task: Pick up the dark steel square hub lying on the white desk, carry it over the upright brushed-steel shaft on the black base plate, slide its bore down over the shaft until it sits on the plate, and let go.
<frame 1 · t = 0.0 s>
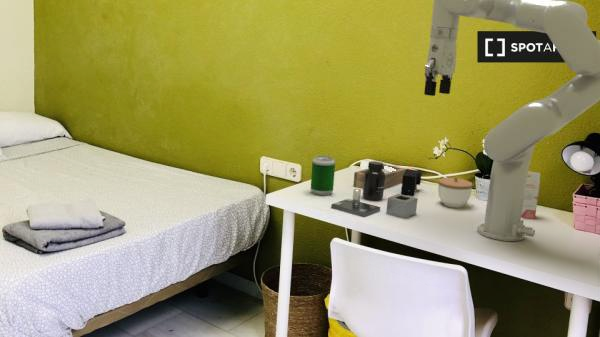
hand: (437, 94, 176), 37 cm above the table, tool pointing down, fingers open, 9 cm apart
supplement bottle: (372, 198, 199), on the table
digital camera: (410, 192, 209), on the table
lidded jar: (452, 205, 197), on the table
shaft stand: (355, 209, 185), on the table
soda can: (321, 193, 201), on the table
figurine: (381, 185, 216), resting in organizer frame
hub: (401, 213, 184), on the table
organizer frame: (379, 183, 217), on the table
ink cartridge box: (520, 215, 190), on the table
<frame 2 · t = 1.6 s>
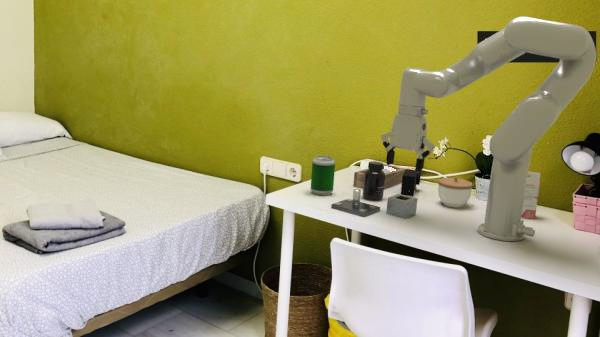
hand: (404, 167, 181), 14 cm above the table, tool pointing down, fingers open, 9 cm apart
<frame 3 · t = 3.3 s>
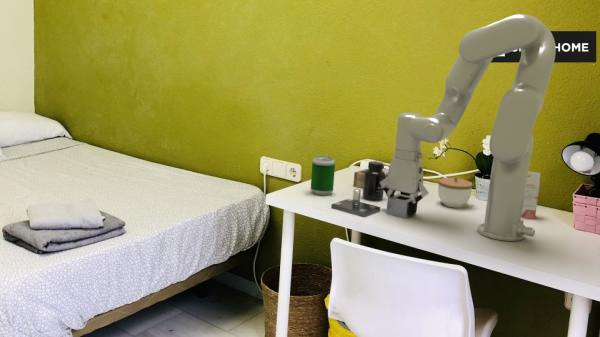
hand: (401, 211, 184), 1 cm above the table, tool pointing down, fingers closed on hub, 6 cm apart
hub: (401, 213, 184), on the table, touching gripper
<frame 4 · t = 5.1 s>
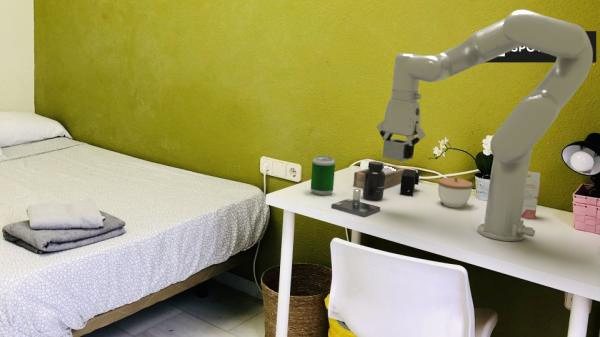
hand: (397, 155, 180), 18 cm above the table, tool pointing down, fingers closed on hub, 6 cm apart
hub: (397, 157, 180), point 17 cm above the table, touching gripper
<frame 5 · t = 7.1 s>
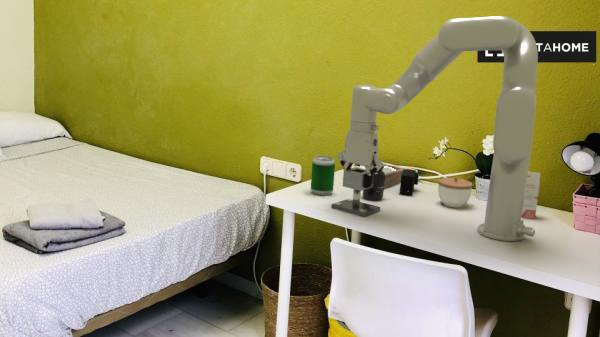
hand: (357, 184, 183), 8 cm above the table, tool pointing down, fingers closed on hub, 6 cm apart
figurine: (383, 184, 219), resting in organizer frame
hub: (357, 186, 184), point 7 cm above the table, touching gripper
everything else where it was.
when the fingers open (3 cm above the table, at t = 8.7 s): hub stays where it is, resting on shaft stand.
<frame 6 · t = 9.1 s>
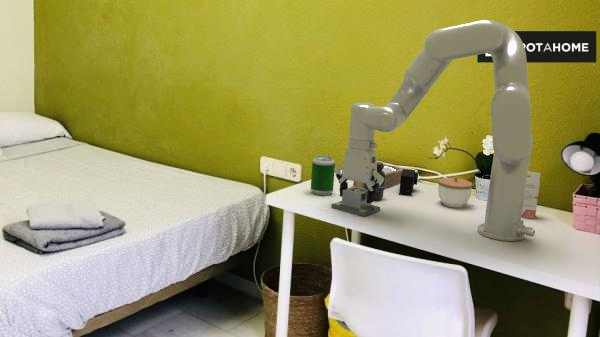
hand: (356, 199, 185), 3 cm above the table, tool pointing down, fingers open, 9 cm apart
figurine: (383, 184, 219), resting in organizer frame
hub: (356, 205, 185), point 1 cm above the table, touching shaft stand
everything else where it was.
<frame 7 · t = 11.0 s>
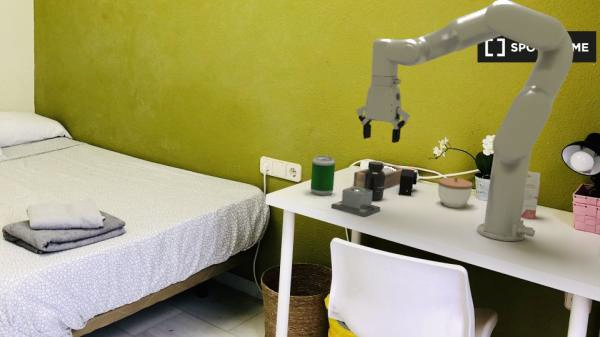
hand: (380, 140, 179), 22 cm above the table, tool pointing down, fingers open, 9 cm apart
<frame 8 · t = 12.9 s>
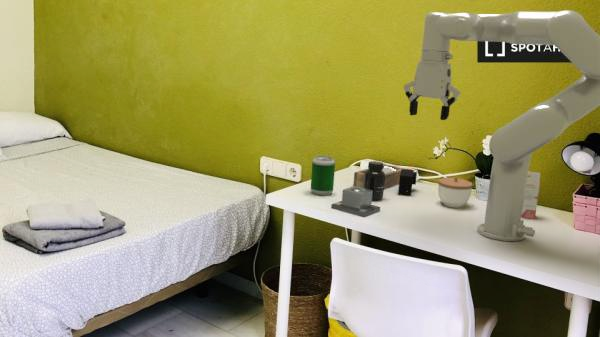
hand: (428, 117, 174), 30 cm above the table, tool pointing down, fingers open, 9 cm apart
at the end: hub 0.2 cm from the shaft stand (horizontally); hub point 1.2 cm above the table; the gripper is holding nothing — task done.
